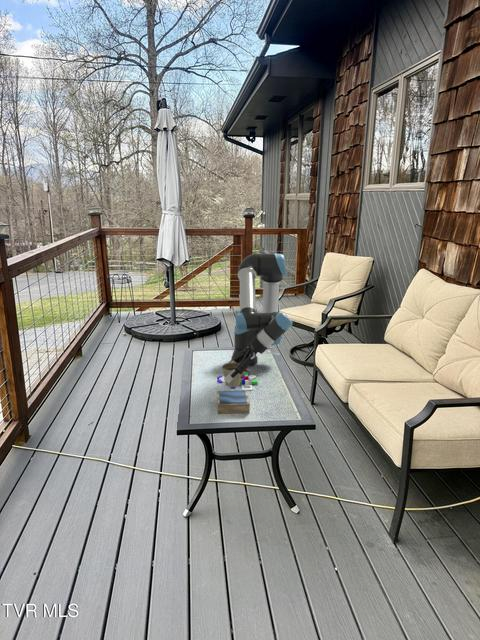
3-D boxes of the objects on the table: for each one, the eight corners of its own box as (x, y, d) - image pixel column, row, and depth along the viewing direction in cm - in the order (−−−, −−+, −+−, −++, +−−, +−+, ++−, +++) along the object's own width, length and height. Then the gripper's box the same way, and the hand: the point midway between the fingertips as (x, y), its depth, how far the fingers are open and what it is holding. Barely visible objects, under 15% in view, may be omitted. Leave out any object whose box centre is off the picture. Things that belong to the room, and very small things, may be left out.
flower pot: (218, 382, 192) (218, 364, 190) (238, 379, 195) (238, 361, 193) (226, 390, 184) (226, 371, 181) (246, 386, 187) (246, 368, 185)
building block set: (218, 372, 232) (217, 364, 231) (255, 371, 233) (255, 364, 232) (216, 391, 208) (216, 383, 207) (258, 391, 209) (258, 383, 208)
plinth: (217, 399, 199) (217, 390, 197) (247, 399, 200) (247, 389, 198) (217, 414, 185) (217, 404, 184) (249, 413, 186) (249, 403, 185)
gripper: (271, 356, 175) (233, 392, 179) (265, 339, 196) (230, 372, 200) (258, 344, 173) (220, 381, 177) (253, 328, 195) (219, 361, 198)
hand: (225, 376), depth 188 cm, fingers closed on flower pot, 9 cm apart
